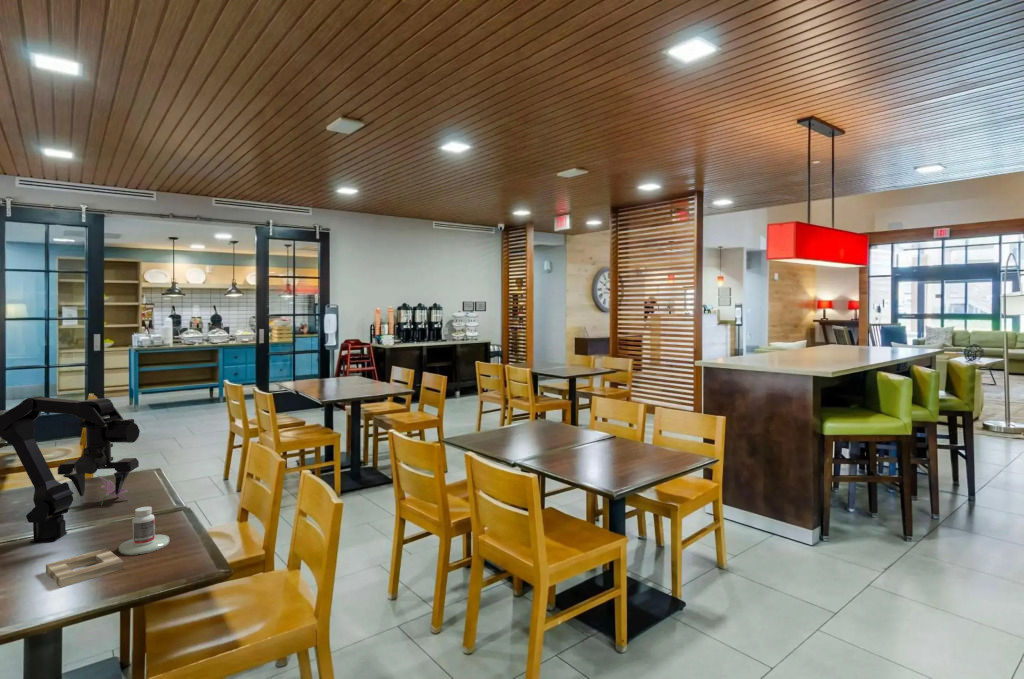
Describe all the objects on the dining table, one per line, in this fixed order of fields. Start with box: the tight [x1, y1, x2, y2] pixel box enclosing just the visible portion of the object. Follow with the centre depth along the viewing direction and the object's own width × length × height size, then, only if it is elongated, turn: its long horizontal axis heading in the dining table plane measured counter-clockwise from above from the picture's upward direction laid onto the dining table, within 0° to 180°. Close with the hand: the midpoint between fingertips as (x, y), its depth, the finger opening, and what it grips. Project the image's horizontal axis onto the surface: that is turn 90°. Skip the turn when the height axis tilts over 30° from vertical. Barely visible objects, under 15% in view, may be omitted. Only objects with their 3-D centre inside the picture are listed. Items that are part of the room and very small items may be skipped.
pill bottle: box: [131, 506, 156, 546], centre depth 157 cm, size 5×5×10 cm
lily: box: [97, 475, 129, 506], centre depth 194 cm, size 12×12×10 cm
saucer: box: [118, 534, 170, 556], centre depth 158 cm, size 12×12×1 cm
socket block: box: [45, 547, 124, 589], centre depth 142 cm, size 13×13×2 cm
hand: (99, 495), depth 162 cm, fingers open, 9 cm apart
